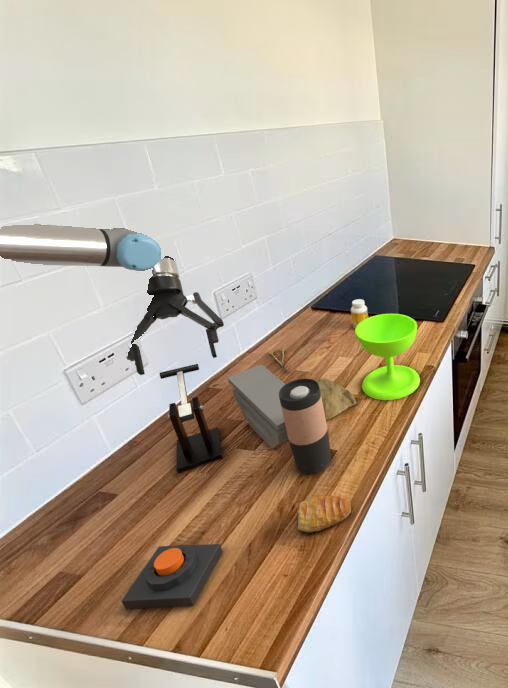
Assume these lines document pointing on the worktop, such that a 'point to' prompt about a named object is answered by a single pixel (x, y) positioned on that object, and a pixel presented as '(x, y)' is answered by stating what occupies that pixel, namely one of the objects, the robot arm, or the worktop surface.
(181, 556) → the button
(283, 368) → the tongs
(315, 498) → the pastry
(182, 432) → the switch bracket
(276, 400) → the sharpening stone
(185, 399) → the switch lever
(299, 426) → the travel mug
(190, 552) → the button block
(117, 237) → the robot arm
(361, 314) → the supplement bottle
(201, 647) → the worktop surface
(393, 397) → the wineglass
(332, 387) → the rock
